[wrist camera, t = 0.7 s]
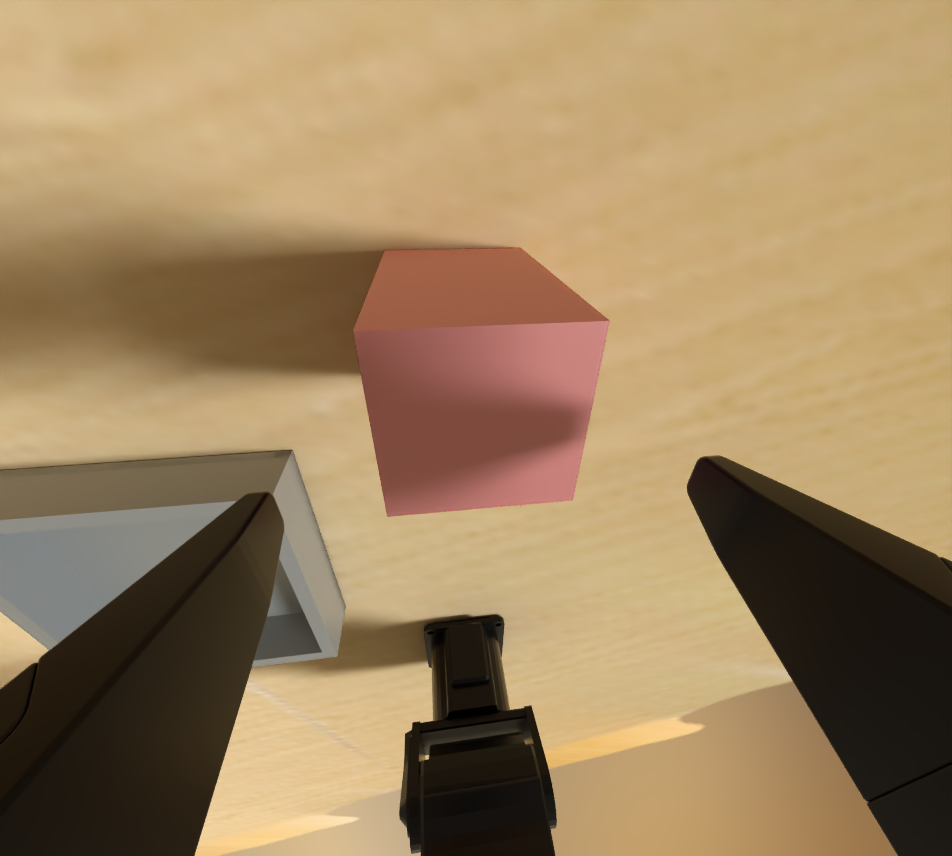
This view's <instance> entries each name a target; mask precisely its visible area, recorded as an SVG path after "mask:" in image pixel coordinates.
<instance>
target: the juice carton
mask: <svg viewBox="0 0 952 856" xmlns="http://www.w3.org/2000/svg"><path fill="white" fill-rule="evenodd" d="M609 322H610V321H609V320H608V319H607V318H606V317H604V316H603V315H602V314H601V313H600V312H598V311H597V310H596V309H595V308H593V307H592V306H591V305H590V304H589V303H587V302H586V301H585V300H584V299H582V298H581V297H580V296H579V295H578V294H576V293H575V292H574V291H573V290H571V289H570V288H569V287H568V286H567V285H565V284H564V283H563V282H562V281H560V280H559V279H558V278H557V277H556V276H554V275H553V274H552V273H551V272H550V271H548V270H547V269H546V268H545V267H543V266H542V265H541V264H540V263H539V262H537V261H536V260H535V259H534V258H532V257H531V256H530V255H529V254H528V253H526V252H525V251H524V250H523V249H521V248H485V249H431V250H385V251H384V254H383V256H382V259H381V261H380V264H379V266H378V269H377V271H376V274H375V276H374V279H373V281H372V284H371V286H370V289H369V292H368V294H367V297H366V299H365V302H364V304H363V307H362V309H361V312H360V314H359V317H358V319H357V322H356V324H355V327H354V329H353V334H354V340H355V345H356V351H357V356H358V361H359V367H360V372H361V378H362V383H363V388H364V394H365V399H366V405H367V410H368V415H369V421H370V426H371V432H372V437H373V442H374V448H375V453H376V459H377V464H378V469H379V475H380V480H381V486H382V491H383V496H384V502H385V507H386V513H387V517H390V516H401V515H413V514H424V513H435V512H446V511H458V510H469V509H480V508H491V507H503V506H514V505H525V504H537V503H548V502H559V501H570V500H573V497H574V492H575V487H576V483H577V478H578V473H579V468H580V463H581V458H582V453H583V449H584V444H585V439H586V434H587V429H588V424H589V419H590V414H591V410H592V405H593V400H594V395H595V390H596V385H597V380H598V376H599V371H600V366H601V361H602V356H603V351H604V346H605V342H606V337H607V332H608V327H609Z"/></svg>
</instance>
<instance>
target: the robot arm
mask: <svg viewBox="0 0 952 856" xmlns="http://www.w3.org/2000/svg"><path fill="white" fill-rule="evenodd" d="M687 492H688V496H689V498H690V500H691V502H692V504H693V506H694V508H695V510H696V512H697V515H698V517H699V519H700V521H701V523H702V525H703V527H704V529H705V531H706V533H707V535H708V538H709V540H710V542H711V544H712V546H713V548H714V550H715V552H716V554H717V556H718V558H719V559H720V561H721V563H722V565H723V566H724V568H725V570H726V571H727V573H728V575H729V576H730V578H731V580H732V581H733V583H734V584H735V586H736V588H737V589H738V591H739V593H740V594H741V596H742V598H743V599H744V601H745V603H746V604H747V606H748V608H749V609H750V611H751V613H752V614H753V616H754V618H755V619H756V621H757V623H758V624H759V626H760V628H761V629H762V631H763V633H764V634H765V636H766V637H767V639H768V641H769V642H770V644H771V646H772V647H773V649H774V651H775V652H776V654H777V656H778V657H779V659H780V661H781V662H782V664H783V666H784V667H785V669H786V671H787V672H788V674H789V676H790V677H791V679H792V681H793V682H794V684H795V685H796V687H797V689H798V690H799V692H800V694H801V695H802V697H803V698H804V700H805V702H806V703H807V705H808V707H809V709H810V710H811V712H812V713H813V715H814V717H815V718H816V720H817V722H818V724H819V725H820V727H821V729H822V730H823V732H824V734H825V735H826V737H827V738H828V740H829V742H830V743H831V745H832V747H833V748H834V750H835V752H836V753H837V755H838V757H839V758H840V760H841V762H842V763H843V765H844V767H845V768H846V770H847V771H848V773H849V775H850V776H851V778H852V780H853V782H854V783H855V785H856V787H857V788H858V790H859V791H860V793H861V795H862V796H863V798H864V799H865V800H866V801H867V805H868V807H869V809H870V810H871V812H872V814H873V815H874V817H875V819H876V820H877V822H878V824H879V825H880V827H881V829H882V830H883V832H884V834H885V835H886V837H887V839H888V840H889V842H890V843H891V845H892V847H893V848H894V850H895V852H896V853H897V855H898V856H952V561H950V560H948V559H945V558H943V557H938V556H937V555H936V554H934V553H932V552H930V551H928V550H926V549H923V548H921V547H919V546H917V545H915V544H912V543H910V542H908V541H906V540H904V539H902V538H899V537H897V536H895V535H893V534H891V533H888V532H886V531H884V530H882V529H880V528H878V527H875V526H873V525H871V524H869V523H867V522H864V521H862V520H860V519H858V518H856V517H854V516H851V515H849V514H847V513H845V512H843V511H840V510H838V509H836V508H834V507H832V506H830V505H827V504H825V503H823V502H821V501H819V500H816V499H814V498H812V497H810V496H808V495H806V494H803V493H801V492H799V491H797V490H795V489H792V488H790V487H788V486H786V485H784V484H782V483H779V482H777V481H775V480H773V479H771V478H768V477H766V476H764V475H762V474H760V473H758V472H755V471H753V470H751V469H749V468H747V467H744V466H742V465H740V464H738V463H736V462H734V461H731V460H729V459H727V458H725V457H722V456H704V457H701V458H700V459H698V460H697V462H696V465H695V467H694V469H693V472H692V474H691V476H690V479H689V481H688V484H687ZM283 534H284V520H283V517H282V515H281V512H280V510H279V508H278V505H277V503H276V500H275V498H274V496H273V494H272V493H271V492H268V491H264V492H251V493H247V494H246V495H244V496H243V497H241V498H240V499H239V500H238V501H236V502H235V503H234V504H233V505H231V506H230V507H229V508H228V509H226V510H225V511H224V512H223V513H221V514H220V515H219V516H218V517H216V518H215V519H214V520H213V521H211V522H210V523H209V524H208V525H206V526H205V527H204V528H202V529H201V530H200V531H199V532H197V533H196V534H195V535H194V536H192V537H191V538H190V539H189V540H187V541H186V542H185V543H184V544H182V545H181V546H180V547H179V548H177V549H176V550H175V551H174V552H172V553H171V554H170V555H169V556H167V557H166V558H165V559H163V560H162V561H161V562H160V563H158V564H157V565H156V566H155V567H153V568H152V569H151V570H150V571H148V572H147V573H146V574H145V575H143V576H142V577H141V578H140V579H138V580H137V581H136V582H135V583H133V584H132V585H131V586H130V587H128V588H127V589H126V590H125V591H123V592H122V593H121V594H119V595H118V596H117V597H116V598H114V599H113V600H112V601H111V602H109V603H108V604H107V605H106V606H104V607H103V608H102V609H101V610H99V611H98V612H97V613H96V614H94V615H93V616H92V617H91V618H89V619H88V620H87V621H86V622H84V623H83V624H82V625H80V626H79V627H78V628H77V629H75V630H74V631H73V632H72V633H70V634H69V635H68V636H67V637H65V638H64V639H63V640H62V641H60V642H59V643H58V644H57V645H55V646H54V647H53V648H52V649H50V650H49V651H48V652H46V653H45V654H44V655H43V656H41V657H40V659H39V661H38V663H33V664H31V665H30V666H29V667H27V668H26V669H25V670H24V671H22V672H21V673H20V674H19V675H17V676H16V677H15V678H14V679H12V680H11V681H10V682H9V683H7V684H6V685H5V686H3V687H2V688H1V689H0V856H194V855H195V852H196V849H197V845H198V842H199V839H200V836H201V832H202V829H203V826H204V822H205V819H206V816H207V812H208V809H209V806H210V803H211V799H212V796H213V793H214V789H215V786H216V783H217V780H218V776H219V773H220V770H221V766H222V763H223V760H224V756H225V753H226V750H227V747H228V743H229V740H230V737H231V733H232V730H233V727H234V724H235V720H236V717H237V714H238V710H239V707H240V704H241V700H242V697H243V694H244V691H245V687H246V684H247V681H248V677H249V674H250V671H251V668H252V664H253V661H254V658H255V654H256V651H257V648H258V645H259V641H260V638H261V635H262V631H263V628H264V625H265V621H266V618H267V615H268V611H269V607H270V604H271V599H272V594H273V589H274V583H275V578H276V573H277V567H278V562H279V556H280V551H281V545H282V540H283ZM503 635H504V619H503V618H502V617H490V618H482V619H473V620H465V621H457V622H448V623H440V624H431V625H427V626H425V627H424V636H425V643H426V650H427V657H428V664H429V667H430V668H432V695H433V721H431V722H424V723H420V722H413V724H412V730H411V731H409V732H407V733H406V734H405V757H404V771H403V781H402V790H401V801H400V811H399V815H400V820H401V821H402V823H403V824H404V825H405V826H406V827H407V833H408V837H409V838H410V848H411V853H412V854H413V853H419V852H421V856H555V851H554V846H553V840H552V835H551V829H553V828H556V823H557V819H556V808H555V800H554V793H553V788H552V783H551V778H550V774H549V769H548V765H547V762H546V758H545V754H544V751H543V747H542V743H541V740H540V736H539V732H538V728H537V725H536V721H535V717H534V714H533V710H532V706H524V708H521V709H514V710H510V707H509V701H508V695H507V689H506V684H505V678H504V672H503V666H502V660H501V657H502V646H503ZM425 755H429V759H428V760H425Z"/></svg>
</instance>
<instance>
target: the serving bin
mask: <svg viewBox="0 0 952 856" xmlns="http://www.w3.org/2000/svg"><path fill="white" fill-rule="evenodd" d="M264 491H268V492H271V493H272V494H273V496H274V498H275V500H276V503H277V505H278V508H279V510H280V512H281V515H282V517H283V520H284V534H283V540H282V545H281V551H280V556H279V562H278V567H277V573H276V578H275V583H274V589H273V594H272V599H271V604H270V607H269V611H268V615H267V618H266V621H265V625H264V628H263V631H262V635H261V638H260V641H259V645H258V648H257V651H256V654H255V658H254V661H253V664H252V667H259V666H267V665H275V664H283V663H291V662H299V661H307V660H315V659H323V658H331V657H337V656H338V650H339V644H340V638H341V632H342V626H343V620H344V614H345V608H346V606H345V603H344V600H343V597H342V594H341V591H340V589H339V586H338V583H337V580H336V577H335V574H334V571H333V568H332V565H331V562H330V559H329V556H328V553H327V550H326V547H325V544H324V542H323V539H322V536H321V533H320V530H319V527H318V524H317V521H316V518H315V515H314V512H313V509H312V506H311V503H310V500H309V497H308V495H307V492H306V489H305V486H304V483H303V480H302V477H301V474H300V471H299V468H298V465H297V462H296V459H295V456H294V453H293V450H287V451H273V452H258V453H244V454H230V455H215V456H201V457H186V458H172V459H158V460H143V461H129V462H114V463H100V464H86V465H71V466H57V467H42V468H28V469H14V470H0V612H2V613H3V614H4V615H5V616H7V617H8V618H9V619H10V620H12V621H13V622H14V623H16V624H17V625H18V626H19V627H21V628H22V629H23V630H24V631H26V632H27V633H28V634H30V635H31V636H32V637H33V638H35V639H36V640H37V641H39V642H40V643H41V644H42V645H44V646H45V647H46V648H47V649H49V650H50V649H52V648H53V647H54V646H55V645H57V644H58V643H59V642H60V641H62V640H63V639H64V638H65V637H67V636H68V635H69V634H70V633H72V632H73V631H74V630H75V629H77V628H78V627H79V626H80V625H82V624H83V623H84V622H86V621H87V620H88V619H89V618H91V617H92V616H93V615H94V614H96V613H97V612H98V611H99V610H101V609H102V608H103V607H104V606H106V605H107V604H108V603H109V602H111V601H112V600H113V599H114V598H116V597H117V596H118V595H119V594H121V593H122V592H123V591H125V590H126V589H127V588H128V587H130V586H131V585H132V584H133V583H135V582H136V581H137V580H138V579H140V578H141V577H142V576H143V575H145V574H146V573H147V572H148V571H150V570H151V569H152V568H153V567H155V566H156V565H157V564H158V563H160V562H161V561H162V560H163V559H165V558H166V557H167V556H169V555H170V554H171V553H172V552H174V551H175V550H176V549H177V548H179V547H180V546H181V545H182V544H184V543H185V542H186V541H187V540H189V539H190V538H191V537H192V536H194V535H195V534H196V533H197V532H199V531H200V530H201V529H202V528H204V527H205V526H206V525H208V524H209V523H210V522H211V521H213V520H214V519H215V518H216V517H218V516H219V515H220V514H221V513H223V512H224V511H225V510H226V509H228V508H229V507H230V506H231V505H233V504H234V503H235V502H236V501H238V500H239V499H240V498H241V497H243V496H244V495H246V494H247V493H251V492H264Z"/></svg>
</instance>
